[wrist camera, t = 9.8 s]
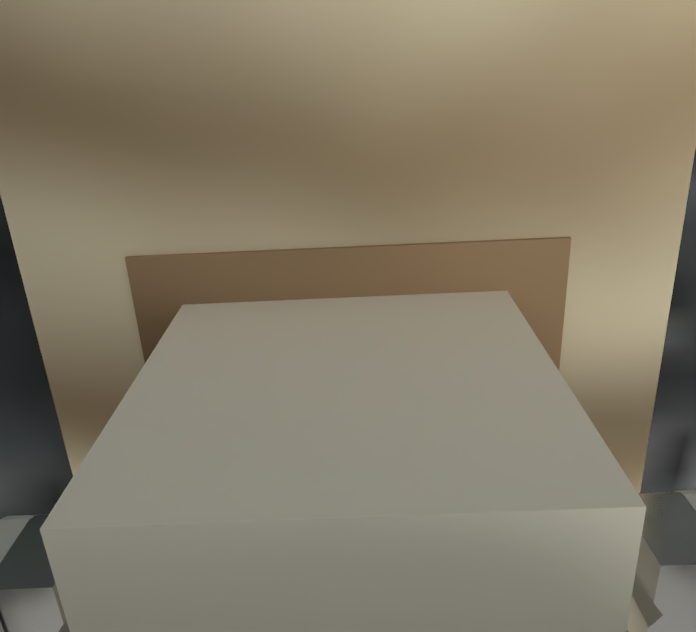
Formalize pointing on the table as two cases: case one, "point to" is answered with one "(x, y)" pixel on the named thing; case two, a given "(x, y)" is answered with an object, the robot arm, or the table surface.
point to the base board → (348, 174)
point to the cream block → (348, 479)
